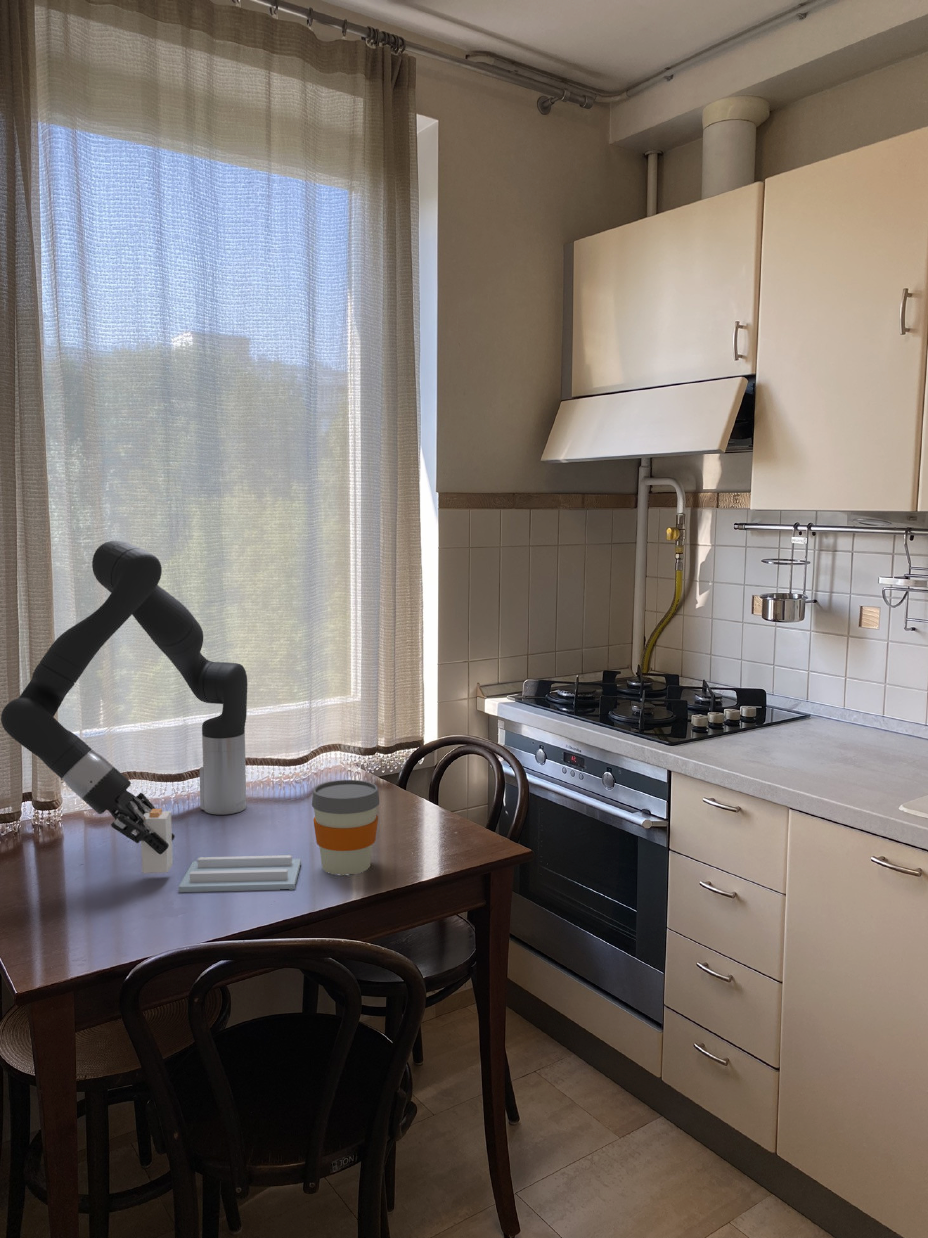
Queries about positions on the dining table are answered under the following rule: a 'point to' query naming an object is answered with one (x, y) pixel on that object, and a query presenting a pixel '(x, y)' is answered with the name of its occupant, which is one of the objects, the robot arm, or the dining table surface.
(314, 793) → the reusable coffee cup
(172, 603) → the robot arm
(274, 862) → the mounting board
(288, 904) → the dining table surface
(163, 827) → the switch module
